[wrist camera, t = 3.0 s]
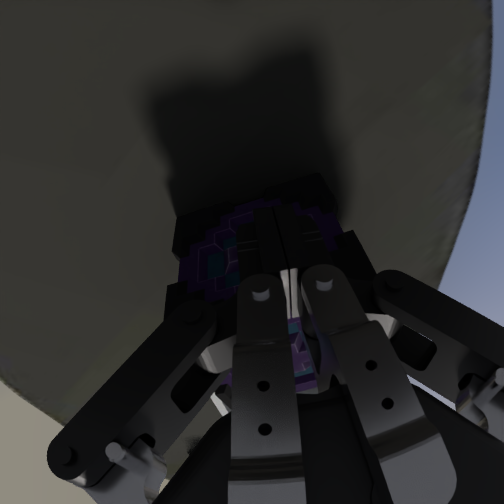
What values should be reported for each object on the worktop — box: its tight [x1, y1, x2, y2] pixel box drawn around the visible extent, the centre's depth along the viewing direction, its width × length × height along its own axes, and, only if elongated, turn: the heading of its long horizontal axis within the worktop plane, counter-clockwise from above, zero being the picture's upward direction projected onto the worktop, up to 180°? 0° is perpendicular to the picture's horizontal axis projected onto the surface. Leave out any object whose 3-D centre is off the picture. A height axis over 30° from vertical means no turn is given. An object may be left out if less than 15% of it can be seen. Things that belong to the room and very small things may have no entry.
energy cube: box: [164, 173, 377, 409], centre depth 24 cm, size 12×12×12 cm
